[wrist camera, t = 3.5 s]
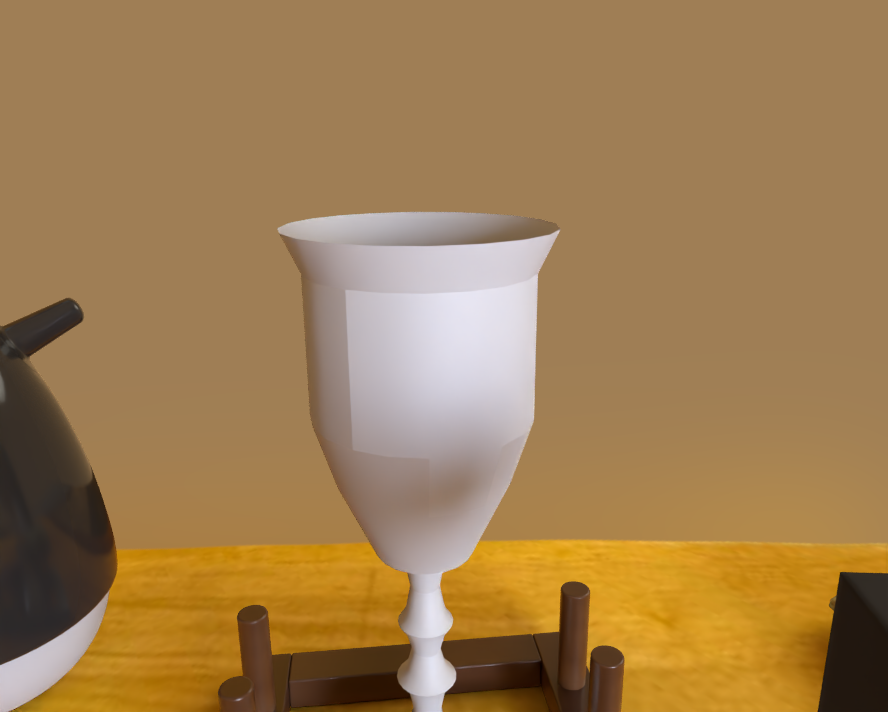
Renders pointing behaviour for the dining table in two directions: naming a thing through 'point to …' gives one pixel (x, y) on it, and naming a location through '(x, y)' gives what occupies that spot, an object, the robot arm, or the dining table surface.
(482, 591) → the dining table surface
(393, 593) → the dining table surface
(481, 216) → the chalice
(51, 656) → the pump dispenser
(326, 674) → the drying rack
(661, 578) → the dining table surface
